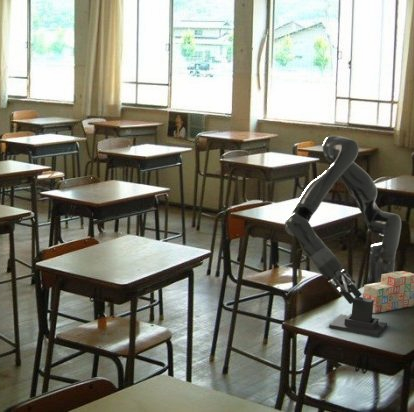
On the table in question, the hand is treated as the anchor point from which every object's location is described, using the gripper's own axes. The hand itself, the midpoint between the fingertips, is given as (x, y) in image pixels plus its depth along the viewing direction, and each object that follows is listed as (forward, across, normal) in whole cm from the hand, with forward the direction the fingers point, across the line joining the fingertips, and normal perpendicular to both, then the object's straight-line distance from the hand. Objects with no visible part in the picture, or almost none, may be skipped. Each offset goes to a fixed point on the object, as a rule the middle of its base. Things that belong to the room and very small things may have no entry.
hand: (356, 299), depth 298 cm
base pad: (+8, 0, +6) cm, 10 cm away
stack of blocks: (+10, +30, +4) cm, 32 cm away
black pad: (+8, 0, +4) cm, 9 cm away
